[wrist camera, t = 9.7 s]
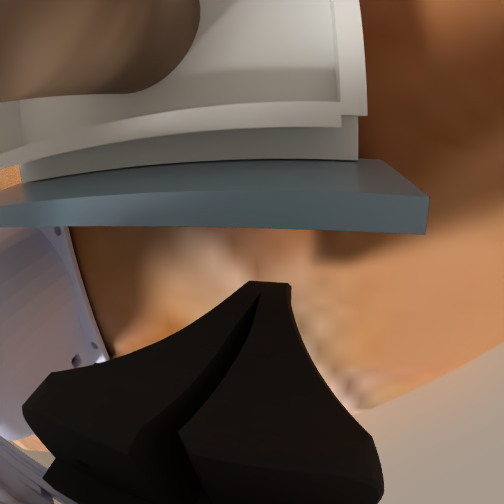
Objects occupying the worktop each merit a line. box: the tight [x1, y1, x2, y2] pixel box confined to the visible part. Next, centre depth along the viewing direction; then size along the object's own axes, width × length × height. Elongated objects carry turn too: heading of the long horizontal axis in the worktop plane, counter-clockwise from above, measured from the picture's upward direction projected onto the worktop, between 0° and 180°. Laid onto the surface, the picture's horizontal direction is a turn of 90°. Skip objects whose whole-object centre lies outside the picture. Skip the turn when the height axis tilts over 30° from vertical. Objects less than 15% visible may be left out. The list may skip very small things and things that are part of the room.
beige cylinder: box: [0, 0, 200, 102], centre depth 6 cm, size 5×5×5 cm
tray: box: [0, 0, 430, 235], centre depth 7 cm, size 11×16×5 cm
